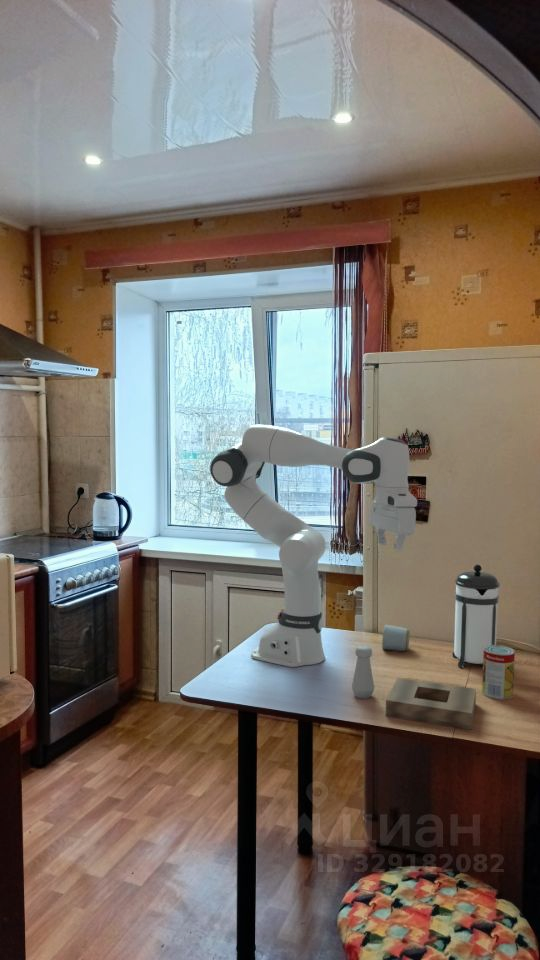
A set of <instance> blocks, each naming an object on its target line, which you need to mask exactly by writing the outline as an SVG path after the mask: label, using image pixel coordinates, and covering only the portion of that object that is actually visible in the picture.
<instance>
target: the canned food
mask: <svg viewBox="0 0 540 960" xmlns="http://www.w3.org/2000/svg"><path fill="white" fill-rule="evenodd" d="M515 654H516V653H515V650H514V649H513V648H511V647H509V646H507V645H506V646H505V645H501V644H496V645H488V646H485V647H484V650H483V664H482V678H481V679H482V680H481V681H482V682H481V683H482V684H481V693H482V694H483V696H485V697H487V698H490V699H495V700H511V699H512V698H513V697H514V680H515V657H516V656H515Z"/></svg>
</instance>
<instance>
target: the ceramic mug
mask: <svg viewBox="0 0 540 960" xmlns="http://www.w3.org/2000/svg"><path fill="white" fill-rule="evenodd" d="M410 634H411V633H410V630H409V628H406V627H401V626H395V625H389V624H385V625H384V626H383V632H382V641H381V642H382V643H381V647H382V649H383V650H389V651H399V652H406V651H408V649H409V647H410V646H409V645H410V636H411V635H410Z"/></svg>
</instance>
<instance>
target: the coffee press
mask: <svg viewBox="0 0 540 960" xmlns="http://www.w3.org/2000/svg"><path fill="white" fill-rule="evenodd" d="M473 570H474V571H473ZM473 570H472V571H471V570H469V571H464V572H461V573H459V574H458V575H457V577H456V579H455V580H454V585H455V592H454V599H455V606H454V607H455V608H454V609H455V610H454V611H455V612H454V613H455V614H454V641H453V642H454V643H453V646H454V647H453V649H454V650H453V652H452V657H453V658H457V659H459V661H458V662H457V666H458V668H461V669H464V668H465V667H466V665H467V664H468V663H470V664H476V665H478V664H479V665H483V650H484V647H485V646H488V645H497V629H498V628H497V627H498V605H499V604H498V603H499V599H500V596H499V588H500V585H501V584H500V582H499V580H498V578H497V577H496V576H495V575H493V574H492V573H488V572H485V571H482V566H481V565H480V564H475V565H474V566H473Z"/></svg>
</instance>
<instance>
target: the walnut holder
mask: <svg viewBox="0 0 540 960" xmlns="http://www.w3.org/2000/svg"><path fill="white" fill-rule="evenodd" d="M476 698H477V688H473V687H466V686H458V685H451V684H444V683H438V682H437V683H436V682H432V681H431V682H430V681H422V680H416V679H415V680H414V679H409V678H408V679H407V678H403V677H402V678H401V677H397V678H396V680H395V681H394V684H393V686H392V688H391V690H390V691H389V693H388V696H387V698H386V699H385V716H386V717H389V718H394V719H396V718H397V719H401V720H407V721H412V722H413V721H414V722H419V723H427V724H433V725H438V726H444V727H445V726H446V727H451V728H458V729H464V730H470V731H471V730H472V727H473V721H474V715H475V708H476V702H477V701H476V700H477V699H476Z"/></svg>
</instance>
